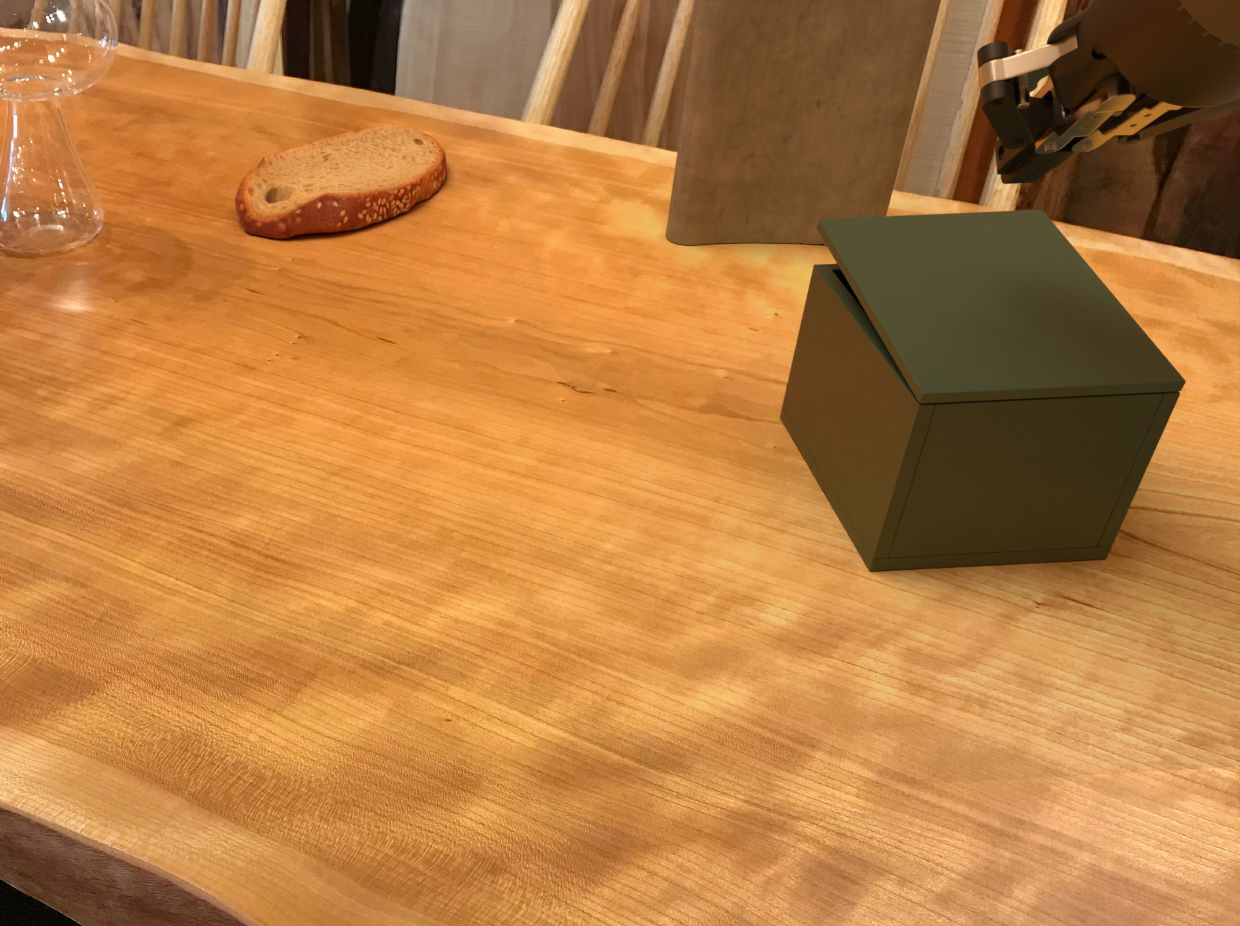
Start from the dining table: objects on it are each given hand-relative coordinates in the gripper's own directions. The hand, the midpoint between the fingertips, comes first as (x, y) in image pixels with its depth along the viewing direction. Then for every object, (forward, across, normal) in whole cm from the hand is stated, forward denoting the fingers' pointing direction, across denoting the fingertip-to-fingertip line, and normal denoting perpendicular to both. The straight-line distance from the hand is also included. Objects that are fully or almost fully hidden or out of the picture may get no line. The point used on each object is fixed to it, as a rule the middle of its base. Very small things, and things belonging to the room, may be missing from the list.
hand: (1015, 164), depth 64 cm
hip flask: (+36, +1, +10) cm, 37 cm away
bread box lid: (+4, 0, -5) cm, 7 cm away
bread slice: (+44, -31, +19) cm, 57 cm away
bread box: (+11, 0, -13) cm, 18 cm away
